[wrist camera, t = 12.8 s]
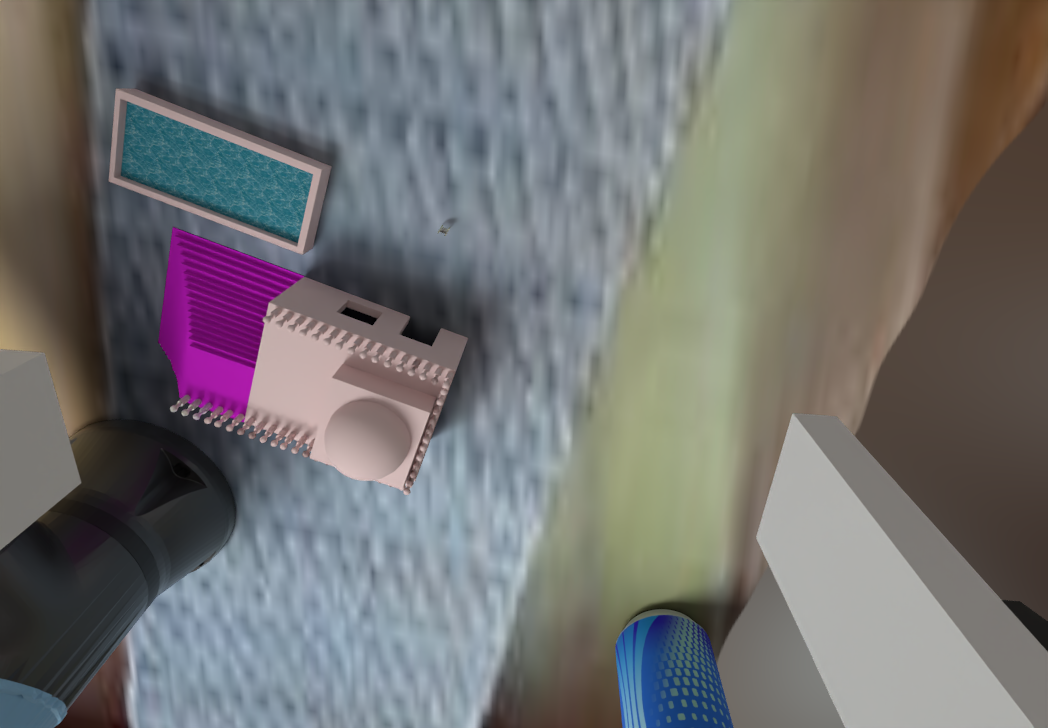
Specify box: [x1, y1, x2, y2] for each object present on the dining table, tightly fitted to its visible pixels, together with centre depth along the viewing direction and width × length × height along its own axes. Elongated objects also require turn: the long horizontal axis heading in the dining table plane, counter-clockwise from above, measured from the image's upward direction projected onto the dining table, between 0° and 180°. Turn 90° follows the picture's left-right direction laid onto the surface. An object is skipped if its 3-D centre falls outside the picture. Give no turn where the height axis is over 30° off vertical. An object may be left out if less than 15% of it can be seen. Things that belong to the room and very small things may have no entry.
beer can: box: [616, 609, 733, 728], centre depth 47 cm, size 8×8×16 cm
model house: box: [109, 89, 468, 495], centre depth 38 cm, size 25×17×11 cm
